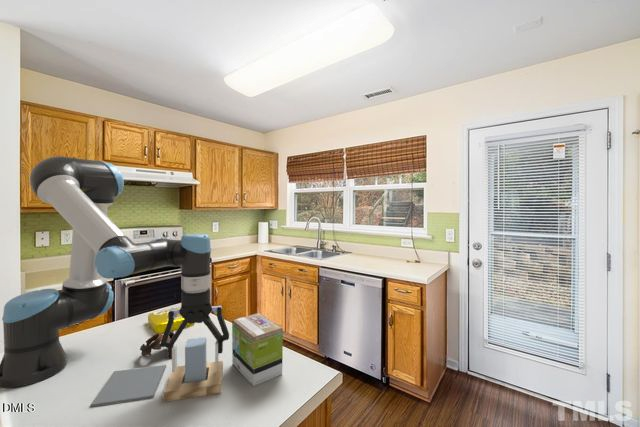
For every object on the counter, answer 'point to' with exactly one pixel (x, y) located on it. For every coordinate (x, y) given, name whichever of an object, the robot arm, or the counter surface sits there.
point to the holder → (194, 383)
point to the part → (195, 360)
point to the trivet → (130, 385)
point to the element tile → (164, 321)
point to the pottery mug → (154, 343)
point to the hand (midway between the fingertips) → (196, 366)
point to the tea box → (257, 348)
